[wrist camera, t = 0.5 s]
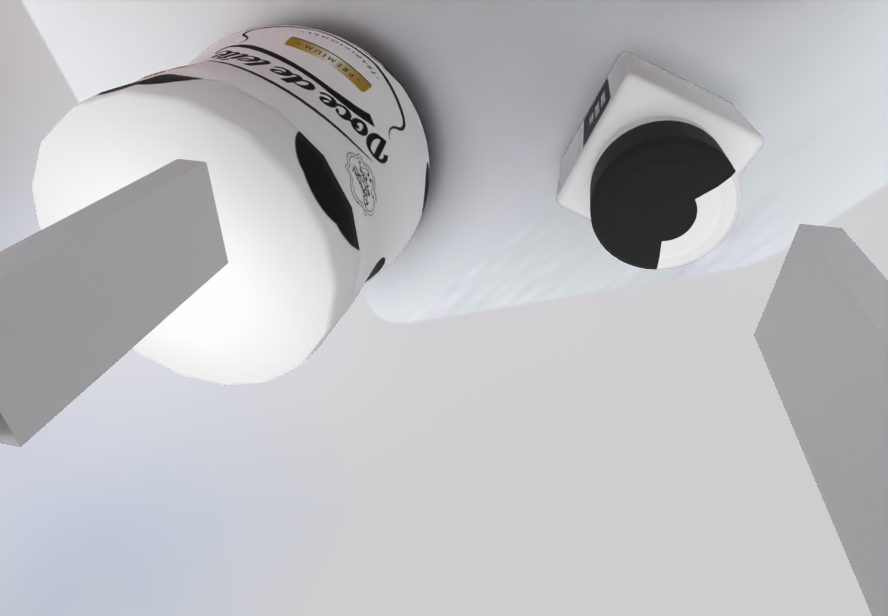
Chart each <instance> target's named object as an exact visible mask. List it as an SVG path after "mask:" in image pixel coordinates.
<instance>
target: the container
mask: <svg viewBox="0 0 888 616" xmlns="http://www.w3.org/2000/svg"><path fill="white" fill-rule="evenodd" d="M763 143H764V140H763V137H762V136H761V135H760V134H759V133H758V132H757V131H756V129H755V128H754V127H753V126H752V125H751V124H750V123H749V122H748V121H747V120H746V119H745V118H744V116H743V115H742V114H741V113H740V112H739V111H738V110H737V109H736V108H735V107H734V106H733V105H732V104H731V103H729V102H727V101H725V100H723V99H721V98H719V97H717V96H715V95H713V94H711V93H709V92H707V91H705V90H703V89H701V88H699V87H697V86H695V85H693V84H691V83H689V82H687V81H685V80H683V79H681V78H679V77H677V76H675V75H673V74H671V73H669V72H667V71H665V70H663V69H661V68H659V67H657V66H655V65H653V64H651V63H649V62H647V61H645V60H643V59H641V58H639V57H637V56H635V55H633V54H631V53H628V52H623V53H621V54H620V55H619V56H618V58H617V60H616V62H615V63H614V65H613V67H612V69H611V71H610V72H609V74H608V76H607V78H606V80H605V82H604V83H603V85H602V87H601V89H600V91H599V92H598V94H597V96H596V98H595V100H594V101H593V103H592V105H591V107H590V109H589V111H588V112H587V114H586V116H585V118H584V120H583V121H582V123H581V125H580V127H579V129H578V130H577V132H576V134H575V136H574V138H573V140H572V141H571V143H570V145H569V147H568V149H567V150H566V152H565V154H564V156H563V158H562V160H561V167H560V174H559V182H558V189H557V197H556V201H557V203H558V204H559V205H560V206H562V207H564V208H566V209H568V210H570V211H572V212H574V213H576V214H578V215H580V216H582V217H584V218H586V219H589V220H591V222H592V226H593V229H594V232H595V234H596V236H597V238H598V240H599V241H600V243H601V244H602V245H603V246H604V248H605V249H606V250H607V251H608V252H610V253H611V254H612V255H613V256H615V257H616V258H618V259H619V260H621V261H623V262H625V263H627V264H630V265H633V266H636V267H640V268H645V269H669V268H675V267H679V266H682V265H686V264H688V263H691V262H693V261H696V260H697V259H699V258H701V257H703V256H705V255H706V254H707V253H709V252H710V251H712V250H713V249H714V248H715V247H716V246H718V245H719V244H720V243H721V242H722V240H723V239H724V238H725V237H726V236H727V234H728V233H729V231H730V230H731V228H732V227H733V225H734V223H735V221H736V219H737V216H738V212H739V209H740V203H741V187H740V182H739V178H738V177H739V176H740V174H741V173H742V172H743V170H744V169H745V168H746V166H747V165H748V164H749V163H750V161H751V160H752V159H753V157H754V156H755V155H756V154H757V152H758V151H759V150H760V148H761V147H762V145H763Z"/></svg>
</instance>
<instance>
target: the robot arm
mask: <svg viewBox="0 0 888 616" xmlns="http://www.w3.org/2000/svg"><path fill="white" fill-rule="evenodd" d="M227 264H228V259H227V254H226V250H225V245H224V241H223V236H222V231H221V227H220V222H219V217H218V213H217V208H216V203H215V199H214V194H213V190H212V185H211V180H210V176H209V171H208V166H207V162H204V161H194V160H185V159H176V160H174V161H173V162H171V163H169V164H167V165H165V166H163V167H161V168H159V169H157V170H155V171H153V172H152V173H150V174H148V175H146V176H144V177H142V178H140V179H138V180H136V181H134V182H132V183H131V184H129V185H127V186H125V187H123V188H121V189H119V190H117V191H115V192H113V193H111V194H110V195H108V196H106V197H104V198H102V199H100V200H98V201H96V202H94V203H92V204H90V205H89V206H87V207H85V208H83V209H81V210H79V211H77V212H75V213H73V214H71V215H69V216H68V217H66V218H64V219H62V220H60V221H58V222H56V223H54V224H52V225H50V226H48V227H47V228H45V229H43V230H41V231H39V232H37V233H35V234H33V235H31V236H30V237H28V238H26V239H24V240H22V241H20V242H18V243H16V244H14V245H12V246H10V247H8V248H7V249H5V250H3V251H1V252H0V443H4V444H8V445H13V446H18V447H21V446H22V445H23V444H24V443H25V442H27V441H28V440H29V439H30V438H31V437H32V436H33V435H35V434H36V433H37V432H38V431H39V430H40V429H41V428H42V427H44V426H45V425H46V424H47V423H48V422H49V421H50V420H51V419H53V418H54V417H55V416H56V415H57V414H58V413H59V412H61V411H62V410H63V409H64V408H65V407H66V406H67V405H68V404H69V403H71V402H72V401H73V400H74V399H75V398H76V397H77V396H79V395H80V394H81V393H82V392H83V391H84V390H85V389H87V387H89V386H90V385H91V384H92V383H93V382H94V381H96V380H97V379H98V378H99V377H100V376H101V375H102V374H103V373H105V372H106V371H107V370H108V369H109V368H110V367H111V366H112V365H114V364H115V362H117V361H118V360H119V359H120V358H121V357H123V356H124V355H125V354H126V353H127V352H128V351H129V350H131V349H132V348H133V347H134V346H135V345H136V344H137V343H138V342H140V341H141V340H142V339H143V338H144V337H145V336H146V335H147V334H149V333H150V332H151V331H152V330H153V329H154V328H155V327H157V326H158V325H159V324H160V323H161V322H162V321H163V320H164V319H166V318H167V317H168V316H169V315H170V314H171V313H172V312H173V311H175V310H176V309H177V308H178V307H179V306H180V305H181V304H183V303H184V302H185V301H186V300H187V299H188V298H189V297H190V296H192V295H193V294H194V293H195V292H196V291H197V290H198V289H199V288H201V287H202V286H203V285H204V284H205V283H206V282H207V281H208V280H210V279H211V278H212V277H213V276H214V275H215V274H216V273H218V272H219V271H220V270H221V269H222V268H223V267H224V266H225V265H227ZM754 336H755V338H756V341H757V343H758V345H759V348H760V350H761V352H762V355H763V357H764V359H765V362H766V364H767V367H768V369H769V371H770V374H771V376H772V378H773V381H774V383H775V386H776V388H777V390H778V393H779V395H780V397H781V400H782V402H783V405H784V407H785V410H786V412H787V414H788V417H789V419H790V421H791V424H792V426H793V428H794V431H795V433H796V435H797V438H798V440H799V443H800V445H801V448H802V450H803V452H804V455H805V457H806V459H807V462H808V464H809V466H810V469H811V471H812V474H813V476H814V478H815V481H816V483H817V486H818V488H819V490H820V493H821V495H822V498H823V500H824V502H825V505H826V507H827V509H828V512H829V514H830V517H831V519H832V521H833V524H834V526H835V528H836V531H837V533H838V536H839V538H840V540H841V543H842V545H843V547H844V550H845V552H846V555H847V557H848V559H849V562H850V564H851V567H852V569H853V571H854V574H855V576H856V578H857V581H858V583H859V586H860V588H861V590H862V593H863V595H864V597H865V600H866V602H867V604H868V607H869V609H870V612H871V614H872V616H888V280H887V279H886V278H885V277H884V276H883V274H882V273H881V272H880V271H879V270H878V269H877V268H876V267H875V265H874V264H873V263H872V262H871V261H870V260H869V259H868V258H867V257H866V255H865V254H864V253H863V252H862V251H861V250H860V248H859V247H858V246H857V245H856V244H855V243H854V242H853V241H852V239H851V238H850V237H849V236H848V235H847V234H846V233H845V232H844V231H843V229H841V228H833V227H824V226H814V225H805V224H800V225H799V227H798V230H797V232H796V235H795V237H794V240H793V242H792V244H791V247H790V249H789V252H788V254H787V257H786V259H785V261H784V264H783V266H782V269H781V271H780V274H779V276H778V278H777V281H776V283H775V286H774V288H773V291H772V293H771V295H770V298H769V300H768V303H767V305H766V308H765V310H764V312H763V315H762V317H761V320H760V322H759V324H758V327H757V329H756V332H755V334H754Z"/></svg>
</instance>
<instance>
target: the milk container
mask: <svg viewBox="0 0 888 616" xmlns="http://www.w3.org/2000/svg"><path fill="white" fill-rule="evenodd" d="M176 159H185V160H194V161H204V162H207V166H208V171H209V176H210V180H211V185H212V190H213V194H214V199H215V203H216V208H217V213H218V217H219V222H220V227H221V231H222V236H223V241H224V245H225V250H226V254H227V259H228V264H227V265H225V266H224V267H223V268H222V269H221V270H220V271H219V272H218V273H216V274H215V275H214V276H213V277H212V278H211V279H210V280H208V281H207V282H206V283H205V284H204V285H203V286H202V287H201V288H199V289H198V290H197V291H196V292H195V293H194V294H193V295H192V296H190V297H189V298H188V299H187V300H186V301H185V302H184V303H183V304H181V305H180V306H179V307H178V308H177V309H176V310H175V311H173V312H172V313H171V314H170V315H169V316H168V317H167V318H166V319H164V320H163V321H162V322H161V323H160V324H159V325H158V326H157V327H155V328H154V329H153V330H152V331H151V332H150V333H149V334H147V335H146V336H145V337H144V338H143V339H142V340H141V341H140V342H138V343H137V344H136V345H135V346H134V347H133V348H132V349H134V350H135V351H136V352H137V353H139V354H141V355H143V356H145V357H147V358H149V359H151V360H153V361H155V362H157V363H159V364H161V365H163V366H165V367H167V368H169V369H171V370H173V371H175V372H177V373H179V374H181V375H184V376H189V377H193V378H197V379H202V380H206V381H211V382H215V383H220V384H224V385H232V384H246V383H259V382H267V381H269V380H271V379H273V378H275V377H277V376H279V375H281V374H283V373H285V372H287V371H290V370H292V369H294V368H296V367H298V366H300V365H301V364H302V363H303V362H305V361H306V360H307V359H308V358H309V357H310V356H311V355H312V354H313V353H314V352H315V351H316V349H317V348H318V347H319V346H320V345H321V344H322V343H323V341H324V340H325V339H326V337H327V336H328V334H329V333H330V332H331V331H332V329H333V328H334V327H335V325H336V324H337V323H338V321H339V320H340V318H341V317H342V316H343V315H344V314H345V312H346V311H347V310H348V309H349V308H350V306H351V304H352V303H353V302H354V300H355V298H356V297H357V295H358V294H359V292H360V290H361V288H362V287H363V285H364V283H365V282H367V281H369V280H370V279H372V278H373V277H375V276H376V275H378V274H379V273H381V272H382V271H383V270H384V269H386V268H387V267H388V266H389V265H390V264H391V263H392V262H393V261H394V260H395V259H396V258H397V257H398V256H399V255H400V253H401V252H402V251H403V250H404V248H405V247H406V246H407V244H408V243H409V241H410V239H411V238H412V236H413V234H414V232H415V230H416V228H417V226H418V224H419V221H420V219H421V216H422V213H423V210H424V207H425V202H426V198H427V192H428V185H429V168H430V166H429V153H428V146H427V141H426V137H425V133H424V130H423V127H422V124H421V121H420V119H419V116H418V114H417V112H416V110H415V108H414V106H413V104H412V102H411V100H410V98H409V97H408V95H407V93H406V92H405V90H404V89H403V88H402V86H401V85H400V83H399V82H398V81H397V80H396V79H395V77H394V76H393V75H392V74H391V73H390V72H389V71H388V70H387V69H386V68H385V67H384V66H383V64H381V63H380V62H379V61H378V60H377V59H376V58H374V57H373V56H372V55H371V54H369V53H368V52H366V51H365V50H364V49H362V48H361V47H359V46H357V45H356V44H354V43H352V42H350V41H348V40H346V39H344V38H342V37H339V36H337V35H334V34H332V33H328V32H325V31H321V30H318V29H313V28H308V27H302V26H293V25H269V26H262V27H256V28H251V29H247V30H243V31H240V32H238V33H235V34H232V35H230V36H228V37H226V38H224V39H222V40H220V41H218V42H216V43H214V44H213V45H212V46H210V47H209V48H207V49H206V50H205V51H204V52H202V53H201V54H200V55H199V56H198V57H197V58H195V59H194V60H193V61H192V62H191V63H190V64H189V65H188V66H183V67H178V68H174V69H170V70H166V71H162V72H158V73H154V74H151V75H149V76H146V77H144V78H142V79H140V80H138V81H136V82H134V83H131V84H128V85H125V86H121V87H118V88H115V89H111V90H108V91H105V92H102V93H100V94H98V95H95V96H93V97H91V98H89V99H87V100H85V101H83V102H81V103H79V104H78V105H77V106H75V107H74V108H72V109H71V110H70V111H69V112H68V113H67V114H66V115H65V117H63V119H62V120H61V121H60V122H59V123H58V124H57V125H56V126H55V127H54V129H53V130H52V131H51V132H50V133H49V134H48V135H47V137H45V139H44V140H43V141H42V142H41V146H40V150H39V155H38V159H37V164H36V169H35V174H34V178H33V183H32V190H33V195H34V200H35V206H36V212H37V217H38V223H39V227H40V231H41V230H43V229H45V228H47V227H48V226H50V225H52V224H54V223H56V222H58V221H60V220H62V219H64V218H66V217H68V216H69V215H71V214H73V213H75V212H77V211H79V210H81V209H83V208H85V207H87V206H89V205H90V204H92V203H94V202H96V201H98V200H100V199H102V198H104V197H106V196H108V195H110V194H111V193H113V192H115V191H117V190H119V189H121V188H123V187H125V186H127V185H129V184H131V183H132V182H134V181H136V180H138V179H140V178H142V177H144V176H146V175H148V174H150V173H152V172H153V171H155V170H157V169H159V168H161V167H163V166H165V165H167V164H169V163H171V162H173V161H174V160H176Z"/></svg>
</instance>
